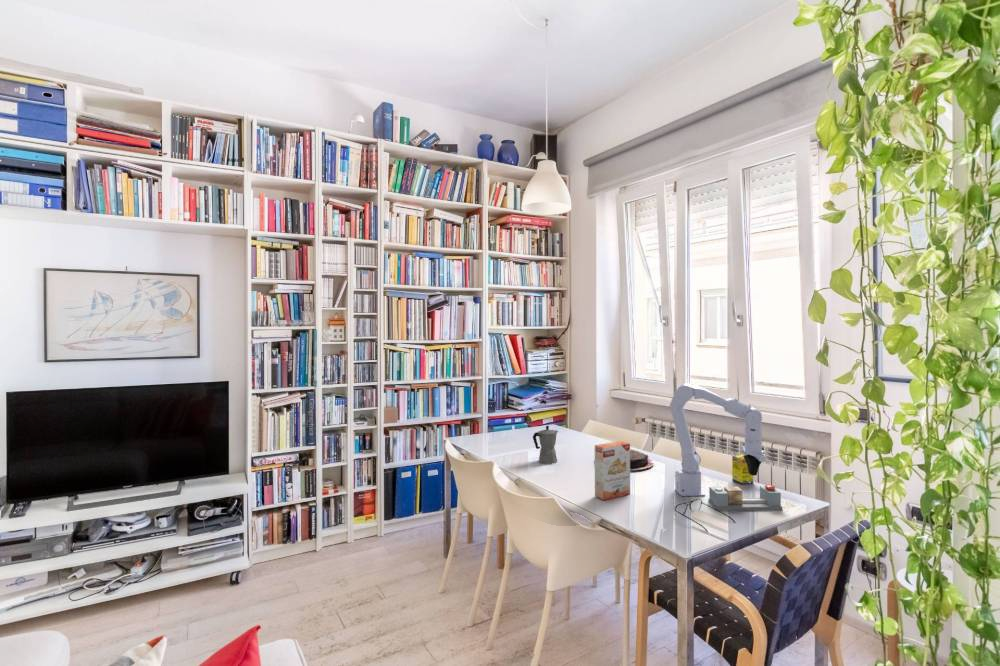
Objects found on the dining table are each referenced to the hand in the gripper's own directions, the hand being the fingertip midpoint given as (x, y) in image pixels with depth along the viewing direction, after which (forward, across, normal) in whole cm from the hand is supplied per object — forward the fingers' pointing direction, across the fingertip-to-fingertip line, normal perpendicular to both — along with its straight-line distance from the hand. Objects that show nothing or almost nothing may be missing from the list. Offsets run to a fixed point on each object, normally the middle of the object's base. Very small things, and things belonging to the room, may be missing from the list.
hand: (753, 474), depth 184 cm
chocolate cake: (+11, +51, +38) cm, 64 cm away
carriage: (+9, -4, +9) cm, 13 cm away
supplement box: (+10, +22, -6) cm, 25 cm away
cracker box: (+11, +8, +52) cm, 53 cm away
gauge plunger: (+7, -4, -4) cm, 9 cm away
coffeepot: (+11, +54, +76) cm, 94 cm away
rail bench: (+10, -4, +5) cm, 12 cm away
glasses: (+11, -17, +25) cm, 32 cm away
